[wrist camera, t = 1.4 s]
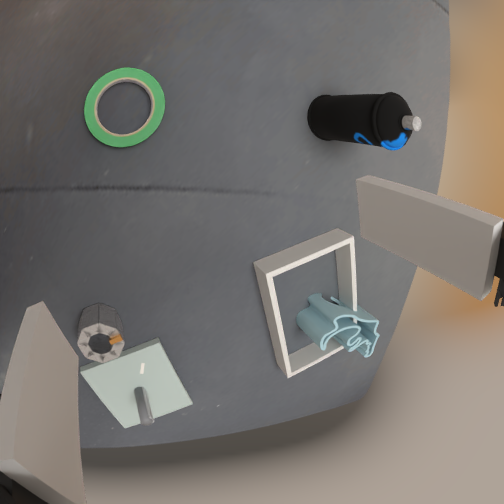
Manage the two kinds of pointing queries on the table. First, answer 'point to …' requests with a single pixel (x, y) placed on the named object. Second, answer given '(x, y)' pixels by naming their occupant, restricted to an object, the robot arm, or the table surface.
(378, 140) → the aerosol can
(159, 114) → the tape roll
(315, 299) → the light blue curvy piece
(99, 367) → the peg stand
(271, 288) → the dispenser corral
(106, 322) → the grey piece
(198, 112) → the table surface
